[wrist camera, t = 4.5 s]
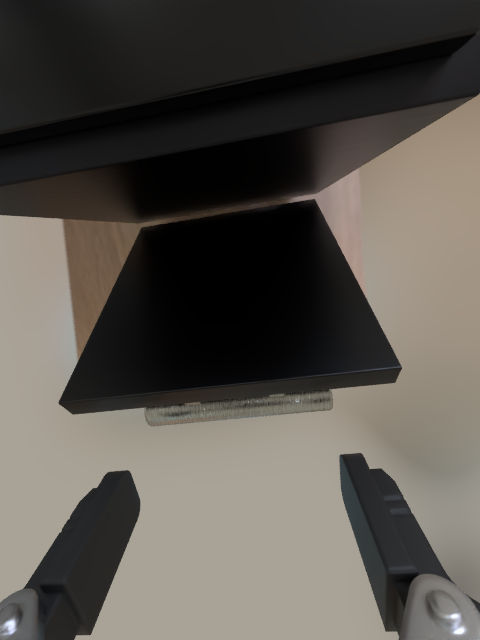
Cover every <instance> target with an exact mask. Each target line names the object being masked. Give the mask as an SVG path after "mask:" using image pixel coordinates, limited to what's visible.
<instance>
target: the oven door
mask: <svg viewBox="0 0 480 640" xmlns="http://www.w3.org/2000/svg"><path fill="white" fill-rule="evenodd" d="M401 369H402V367H401V365H400V363H399V361H398V359H397V357H396V355H395V353H394V351H393V349H392V347H391V345H390V343H389V342H388V340H387V338H386V336H385V334H384V332H383V330H382V328H381V326H380V324H379V322H378V320H377V318H376V316H375V315H374V313H373V311H372V309H371V307H370V305H369V303H368V301H367V299H366V297H365V295H364V293H363V291H362V289H361V288H360V286H359V284H358V282H357V280H356V278H355V276H354V274H353V272H352V270H351V268H350V266H349V264H348V262H347V261H346V259H345V257H344V255H343V253H342V251H341V249H340V247H339V245H338V243H337V241H336V239H335V237H334V235H333V234H332V232H331V230H330V228H329V226H328V224H327V222H326V220H325V218H324V216H323V214H322V212H321V210H320V208H319V207H318V205H317V203H316V201H315V199H311V200H305V201H299V202H293V203H287V204H281V205H275V206H269V207H263V208H257V209H251V210H245V211H239V212H233V213H227V214H221V215H215V216H209V217H203V218H197V219H191V220H185V221H179V222H173V223H167V224H161V225H155V226H149V227H142V228H141V230H140V232H139V234H138V236H137V239H136V241H135V243H134V245H133V247H132V249H131V251H130V253H129V255H128V257H127V260H126V262H125V264H124V266H123V268H122V270H121V272H120V274H119V276H118V279H117V281H116V283H115V285H114V287H113V289H112V291H111V293H110V295H109V297H108V300H107V302H106V304H105V306H104V308H103V310H102V312H101V314H100V316H99V319H98V321H97V323H96V325H95V327H94V329H93V331H92V333H91V335H90V337H89V340H88V342H87V344H86V346H85V348H84V350H83V352H82V354H81V356H80V358H79V361H78V363H77V365H76V367H75V369H74V371H73V373H72V375H71V378H70V380H69V382H68V384H67V386H66V388H65V390H64V392H63V394H62V396H61V399H60V401H59V404H60V405H61V406H62V407H64V408H65V409H67V410H68V411H69V412H70V413H72V414H84V413H94V412H104V411H114V410H123V409H134V408H144V407H145V418H146V421H147V423H148V425H150V426H161V425H171V424H183V423H193V422H205V421H216V420H227V419H238V418H249V417H259V416H270V415H281V414H292V413H303V412H314V411H325V410H331V409H332V406H333V399H332V392H331V389H337V388H346V387H356V386H367V385H377V384H387V383H395V382H396V380H397V378H398V375H399V373H400V371H401Z"/></svg>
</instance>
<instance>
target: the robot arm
mask: <svg viewBox="0 0 480 640" xmlns="http://www.w3.org/2000/svg"><path fill="white" fill-rule="evenodd" d="M340 478H341V491H342V496H343V500H344V504H345V508H346V511H347V514H348V517H349V520H350V523H351V526H352V529H353V532H354V535H355V538H356V541H357V544H358V548H359V551H360V553H361V557H362V559H363V563H364V566H365V569H366V572H367V575H368V578H369V581H370V584H371V587H372V590H373V594H374V597H375V600H376V603H377V606H378V609H379V612H380V615H381V618H382V621H383V624H384V627H385V630H386V631H397V632H398V635H399V640H480V603H478V602H477V601H475V600H473V599H472V598H471V597H469V596H468V595H467V594H465V593H464V592H463V591H462V590H461V589H459V587H457V586H456V585H455V583H454V582H452V580H451V579H450V578H449V576H448V575H447V574H446V572H445V571H444V569H443V567H442V565H441V564H440V562H439V560H438V558H437V557H436V555H435V553H434V551H433V550H432V548H431V546H430V544H429V542H428V540H427V538H426V537H425V535H424V533H423V531H422V529H421V528H420V526H419V524H418V522H417V521H416V519H415V517H414V515H413V514H412V513H411V510H410V508H409V506H408V504H407V502H406V501H405V500H404V498H403V495H402V493H401V492H400V490H399V488H398V486H397V485H396V483H395V481H394V480H393V479H392V478H391V477H390V476H389V475H388V474H386V473H385V472H384V471H383V470H382V469H369V467H368V465H367V463H366V460H365V458H364V457H363V455H362V454H361V453H356V454H343V455H340ZM139 512H140V498H139V495H138V492H137V490H136V487H135V484H134V481H133V478H132V475H131V473H130V471H128V470H127V471H114V472H108V473H107V474H106V475H105V476H104V478H103V479H102V481H101V483H100V484H99V486H98V487H97V488H93V489H92V490H91V491H90V492H89V493H88V494H87V495H86V496H85V497H84V498H83V499H82V500H81V501H80V502H79V504H78V505H77V507H76V508H75V510H74V511H73V513H72V514H71V516H70V519H69V520H68V521H67V522H66V524H65V525H64V527H63V529H62V532H61V533H59V535H58V536H57V538H56V539H55V541H54V542H53V544H52V546H51V547H50V549H49V550H48V552H47V553H46V555H45V556H44V558H43V560H42V561H41V563H40V565H39V566H38V567H37V569H36V571H35V572H34V574H33V575H32V577H31V578H30V580H29V581H28V583H27V584H26V586H25V587H24V588H23V589H22V590H20V591H17V592H15V593H13V594H11V595H10V596H8V597H7V598H6V599H4V600H3V601H2V602H1V603H0V640H74V639H75V636H76V635H91V633H92V630H93V628H94V626H95V623H96V621H97V618H98V616H99V613H100V611H101V608H102V606H103V603H104V601H105V598H106V596H107V593H108V591H109V588H110V586H111V584H112V581H113V578H114V576H115V574H116V571H117V569H118V566H119V564H120V561H121V559H122V556H123V554H124V551H125V549H126V547H127V544H128V542H129V539H130V537H131V534H132V531H133V529H134V527H135V524H136V522H137V519H138V516H139Z"/></svg>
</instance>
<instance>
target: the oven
mask: <svg viewBox="0 0 480 640" xmlns="http://www.w3.org/2000/svg"><path fill="white" fill-rule="evenodd" d="M479 93H480V0H0V215H10V216H27V217H43V218H59V219H76V220H92V221H108V222H125V223H143V222H149V221H155V220H161V219H167V218H173V217H179V216H185V215H191V214H197V213H203V212H209V211H215V210H221V209H227V208H233V207H239V206H245V205H251V204H257V203H263V202H268V201H274V200H280V199H286V198H292V197H298V196H304V195H310V194H316V193H318V192H320V191H321V190H323V189H325V188H326V187H328V186H330V185H331V184H333V183H335V182H336V181H338V180H339V179H341V178H343V177H344V176H346V175H348V174H349V173H351V172H353V171H354V170H356V169H358V168H359V167H361V166H362V165H364V164H366V163H367V162H369V161H371V160H372V159H374V158H375V157H377V156H379V155H380V154H382V153H384V152H385V151H387V150H389V149H390V148H392V147H393V146H395V145H397V144H399V143H400V142H402V141H403V140H405V139H407V138H408V137H410V136H411V135H413V134H415V133H416V132H418V131H420V130H421V129H423V128H425V127H426V126H428V125H430V124H431V123H433V122H434V121H436V120H438V119H440V118H441V117H443V116H444V115H446V114H448V113H449V112H451V111H453V110H454V109H456V108H458V107H459V106H461V105H462V104H464V103H466V102H467V101H469V100H471V99H472V98H474V97H476V96H477V95H479Z"/></svg>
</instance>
